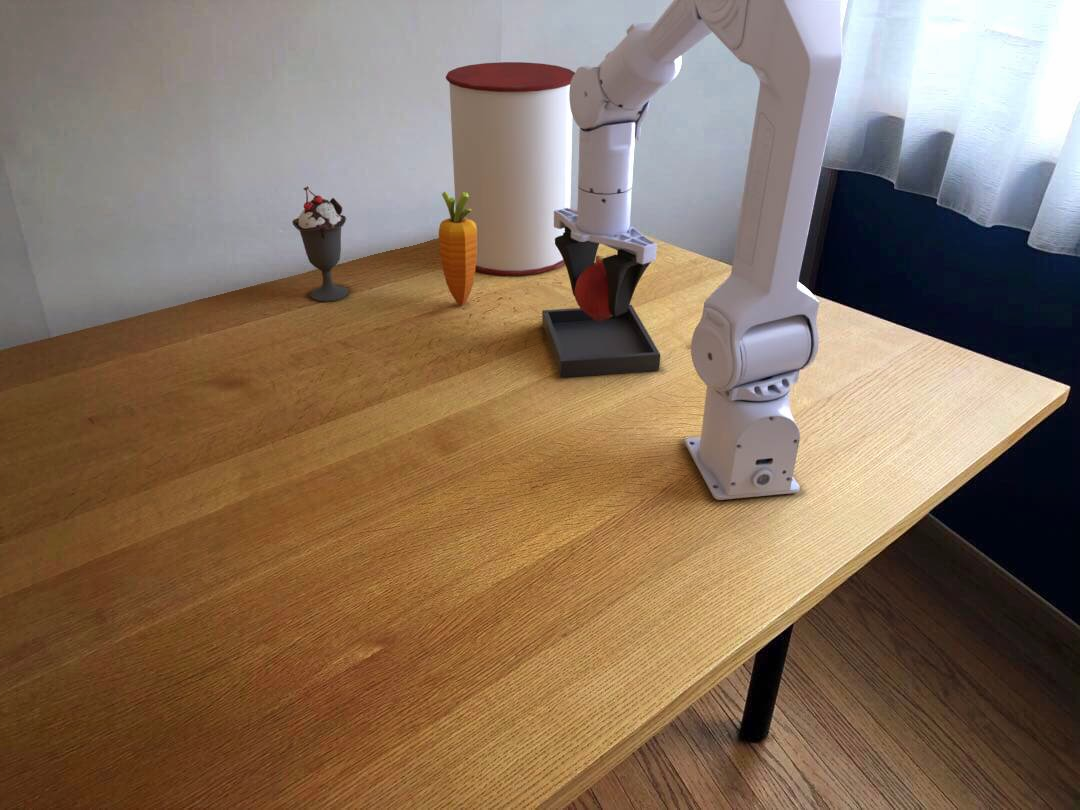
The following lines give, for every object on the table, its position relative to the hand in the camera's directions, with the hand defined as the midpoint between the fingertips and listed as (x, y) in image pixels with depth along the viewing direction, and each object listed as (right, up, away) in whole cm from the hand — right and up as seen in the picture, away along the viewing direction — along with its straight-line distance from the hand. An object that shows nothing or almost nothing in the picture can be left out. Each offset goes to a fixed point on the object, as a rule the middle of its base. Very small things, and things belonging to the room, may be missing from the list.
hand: (599, 303), depth 98 cm
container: (-11, +11, +28) cm, 32 cm away
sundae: (-35, +3, +16) cm, 38 cm away
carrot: (-17, +1, +13) cm, 21 cm away
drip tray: (0, -5, +3) cm, 6 cm away
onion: (0, -2, +1) cm, 2 cm away
